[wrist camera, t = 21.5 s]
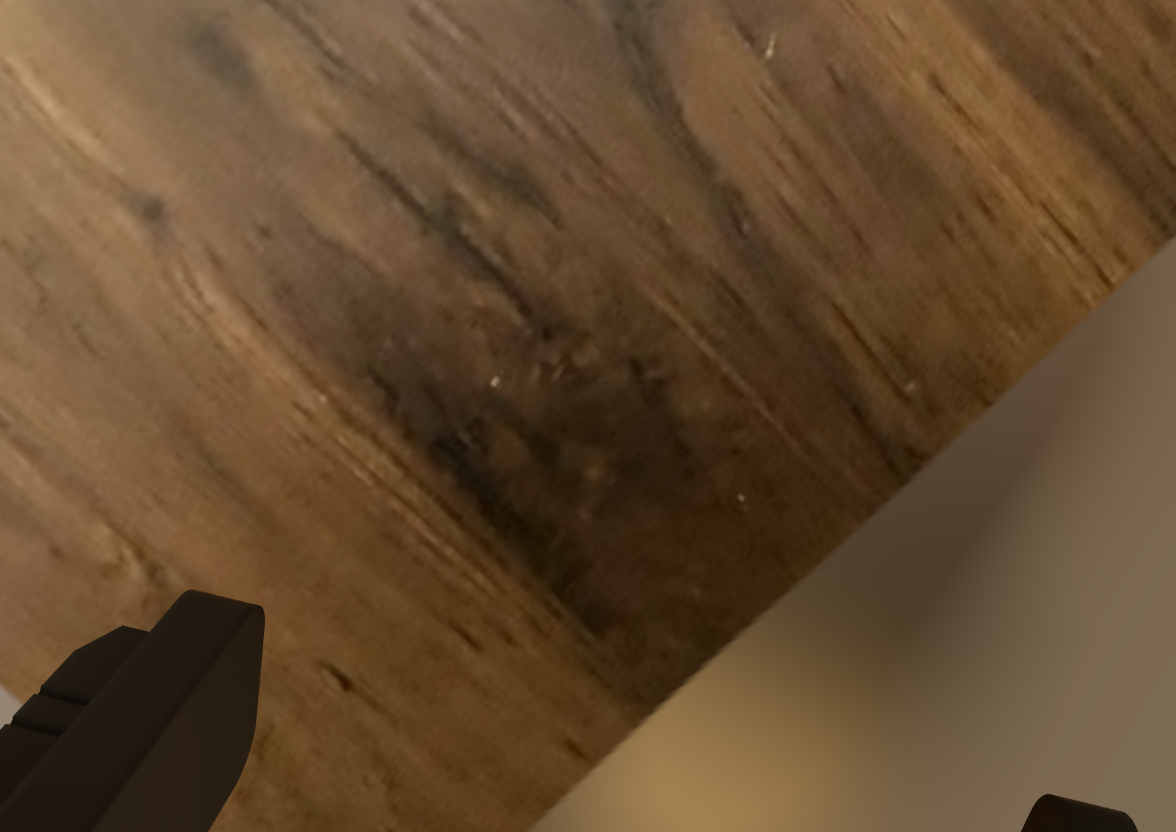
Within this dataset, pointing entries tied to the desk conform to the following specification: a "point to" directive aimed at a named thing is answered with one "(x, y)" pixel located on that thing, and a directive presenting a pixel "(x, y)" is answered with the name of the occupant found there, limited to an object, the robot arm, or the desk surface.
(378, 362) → the desk surface
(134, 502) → the desk surface
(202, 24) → the desk surface
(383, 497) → the desk surface
